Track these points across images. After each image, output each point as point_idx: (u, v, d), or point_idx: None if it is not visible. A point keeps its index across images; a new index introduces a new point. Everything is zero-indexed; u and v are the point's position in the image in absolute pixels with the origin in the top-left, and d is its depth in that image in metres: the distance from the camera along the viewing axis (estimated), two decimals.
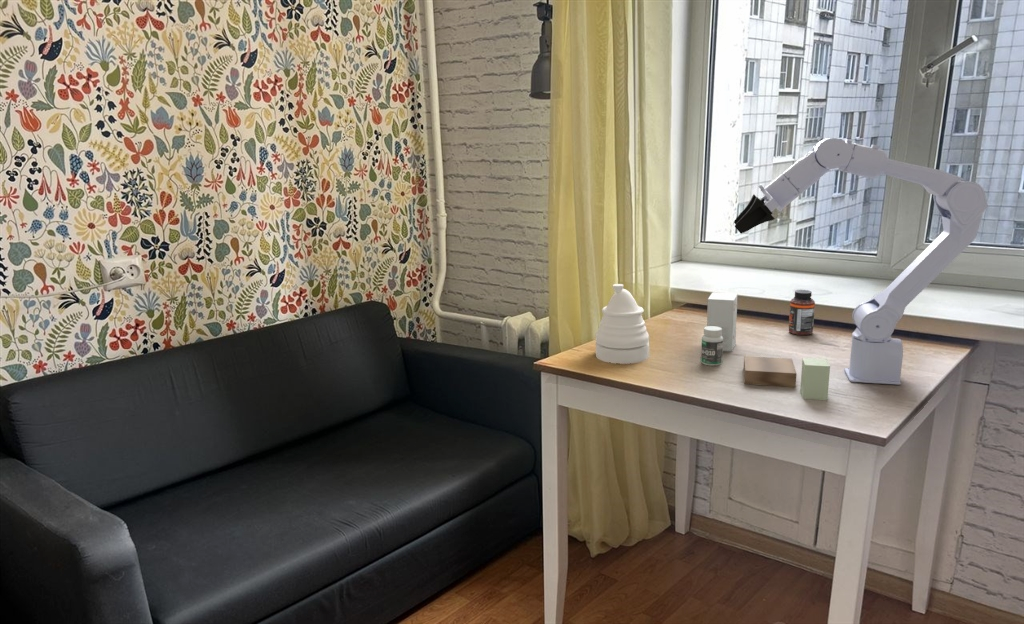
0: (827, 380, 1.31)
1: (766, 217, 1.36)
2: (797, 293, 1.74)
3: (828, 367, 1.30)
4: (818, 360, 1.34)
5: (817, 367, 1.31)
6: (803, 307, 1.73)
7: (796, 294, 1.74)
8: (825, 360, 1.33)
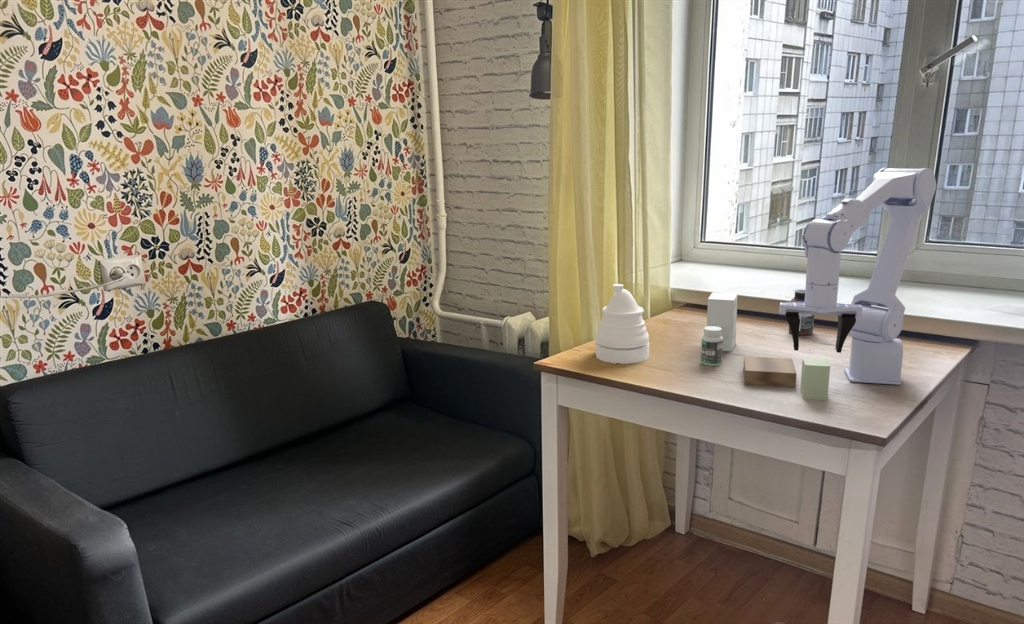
0: (827, 380, 1.31)
1: None
2: (797, 293, 1.74)
3: (828, 367, 1.30)
4: (818, 360, 1.33)
5: (817, 367, 1.31)
6: None
7: (796, 294, 1.74)
8: (825, 360, 1.33)
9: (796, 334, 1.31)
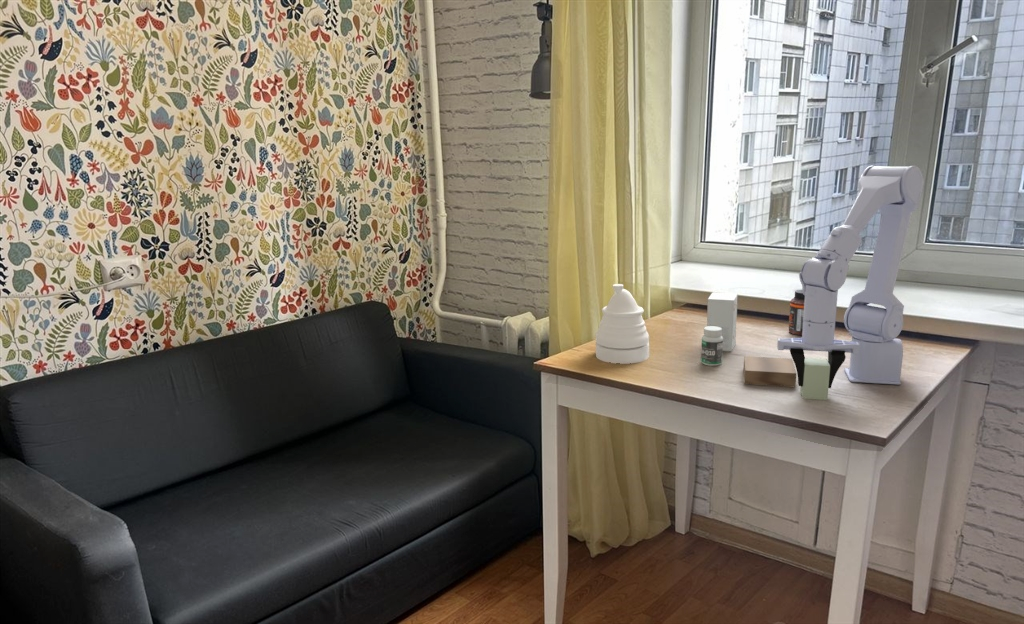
0: (827, 380, 1.31)
1: None
2: (797, 293, 1.74)
3: (828, 367, 1.30)
4: (818, 360, 1.33)
5: (817, 366, 1.31)
6: (803, 307, 1.73)
7: (796, 294, 1.74)
8: (825, 360, 1.33)
9: (801, 370, 1.32)
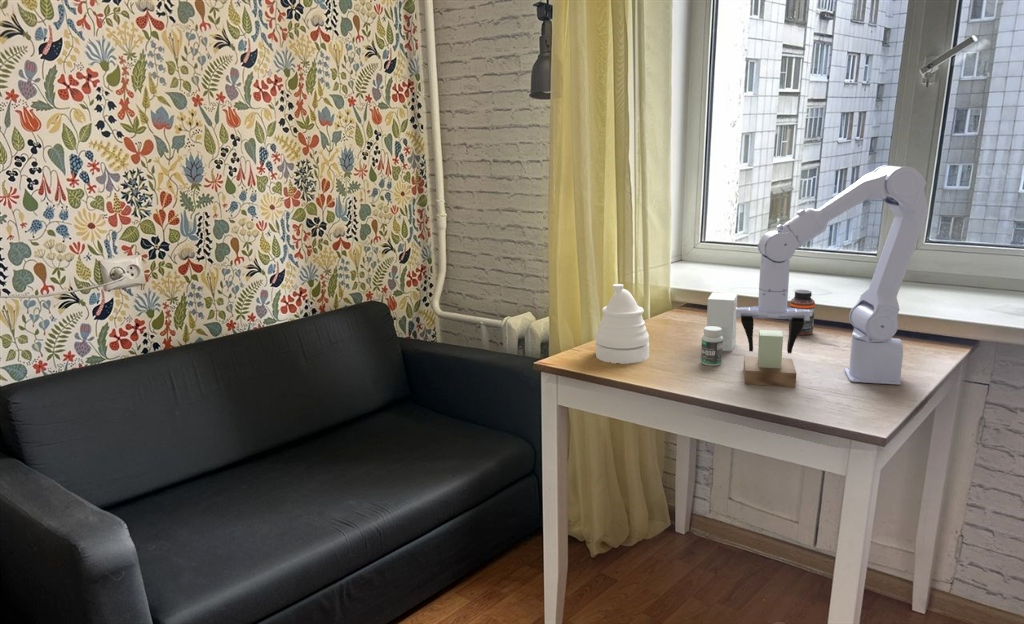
0: (780, 350, 1.41)
1: None
2: (797, 293, 1.74)
3: (781, 337, 1.40)
4: (773, 331, 1.43)
5: (771, 337, 1.41)
6: (803, 307, 1.73)
7: (796, 294, 1.74)
8: (780, 332, 1.43)
9: (750, 336, 1.42)
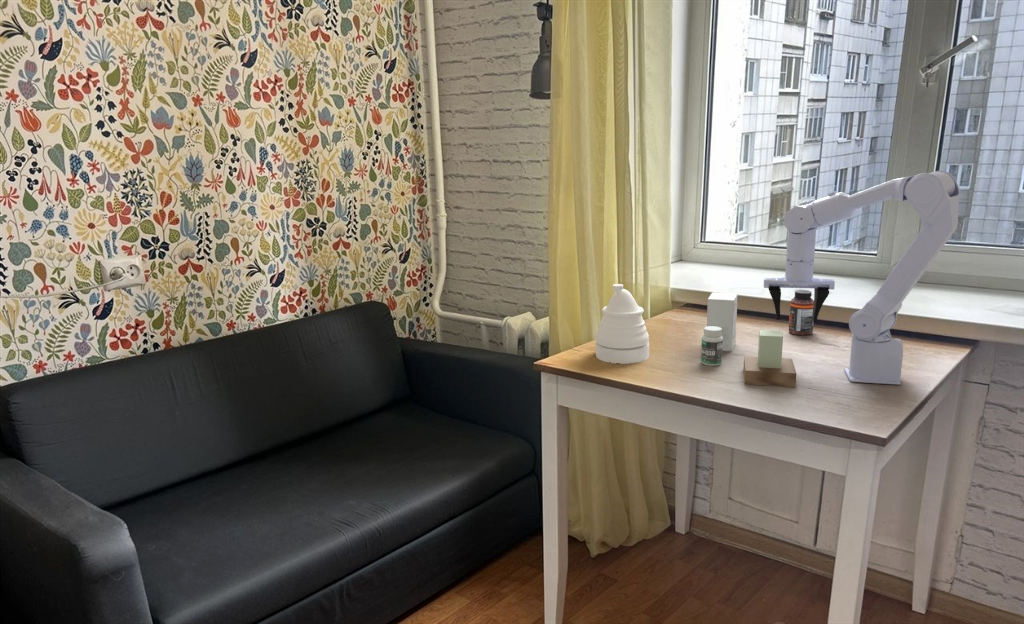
0: (780, 350, 1.41)
1: None
2: (797, 293, 1.74)
3: (781, 337, 1.40)
4: (773, 331, 1.43)
5: (771, 337, 1.41)
6: (803, 307, 1.73)
7: (796, 294, 1.74)
8: (780, 332, 1.43)
9: (778, 305, 1.51)
